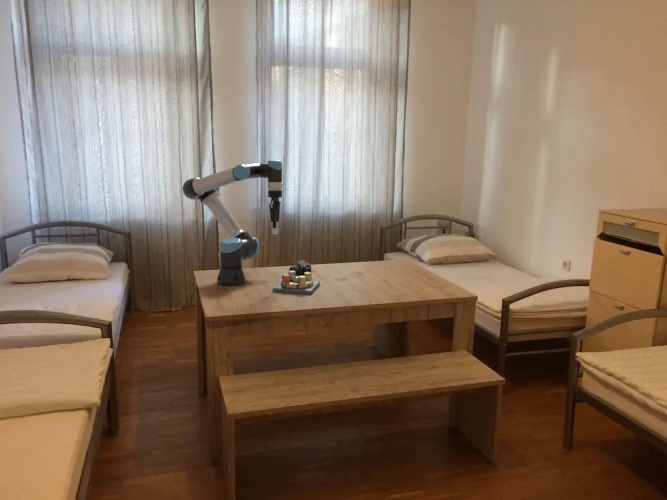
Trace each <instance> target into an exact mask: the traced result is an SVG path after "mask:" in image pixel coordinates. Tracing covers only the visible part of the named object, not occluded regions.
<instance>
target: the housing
mask: <svg viewBox="0 0 667 500" xmlns="http://www.w3.org/2000/svg"><path fill="white" fill-rule="evenodd" d="M291 282H293V283H298V276H292V277H291ZM319 286H321V281H319V280H313V285H312V286H310V287H307V288H286V287H284V286H282V285H281V281H280V282H278V283H276V285H275V286H273V287H272V292H273V293H281V294H282V293H285V294H293V295H294V294H296V295H312V294H313V293H314V292H315V291H316V290H317V289H318V287H319Z"/></svg>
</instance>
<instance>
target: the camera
mask: <svg viewBox="0 0 667 500" xmlns="http://www.w3.org/2000/svg"><path fill="white" fill-rule="evenodd" d="M288 271H295V272H296V276H304V272H310V273H312V265H311V264H310V263H309V262H308V260H306V259H303V260H297V261H296V264H295V265H293V266H290V267H289V269H288Z"/></svg>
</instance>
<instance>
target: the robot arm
mask: <svg viewBox="0 0 667 500" xmlns="http://www.w3.org/2000/svg"><path fill="white" fill-rule="evenodd" d="M257 178H258V179H259V178H260V179H261V178H262V179H267V189H268V190H267V198H270V203H269V204H268V207H269V214H270V215H269V216H270V217H269V218H270V223H271V224H272V225H271V227H272V229H271V233H272V234H271V235H279V222H280V211H281V201H280V198H282V197H283V190H282V189H283V186H284V184H283V162H282V160H279V159H278V160H277V159H268V160H267V163H261V162H251V163H241V164H237V165H236V166H234V167H231V168H228V169H225V170H222V171H220V172H219V171H218V172H215V173H213V174H210V175H207V176H203V177H194V178H189V179H187V180H185V181H184V183H183V185H182V193H183V194H184V196H185V197H186V198H187V199H188V200H189V199H190V200H199V201H200V203H201V204H202V205H203V206H207V208H208V210H209V211H210V212H211V213H212V216H213V217H214V218H215V219H216V221H217V223H219V225H220V226H221V228H222V229H223V231H224V233H226V235H227V236H228V238H224V239H222V240H221V241H220V242H219V272H218V275H217V278H216V283H217V284H218V285H219V286H228V287H232V286H240V285H244V284H245V283H246V282H247V281H246V276H245V272H244V270H243V261H245V260H248V259H249V260H250V259H252V258H254V257H256V256H257V255H258V254H259V252H260V247H261V246H260V242H259V240H258V238H257V237H255V236H252V235H250V234H249V232H248V231H247V230H243V229H242V227H241V225H240V224H239V223H238V221H237V220H236V219H235V216H234V215H233V214H232V212H231V211H230V209H228V207H227V206H226V204H225V203H224V201H223V200H222V198H221V191H220V188H222V187H225V186H229V185H231V184H234V183H238V182H241V181H244V180H248V179H257Z"/></svg>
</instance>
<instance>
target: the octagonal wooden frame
mask: <svg viewBox="0 0 667 500" xmlns="http://www.w3.org/2000/svg"><path fill="white" fill-rule="evenodd" d="M312 274H313V273H312V272H311V273H310V272H304V276H298V283H293V282H291V277H292V276H296V272H295V271H289V270H288V271H287V274H281V280H280V282H281V285H282V286H284V287H286V288H307V287H310V286H312V285H313V281H314V280H313V279H312V276H313V275H312Z"/></svg>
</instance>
